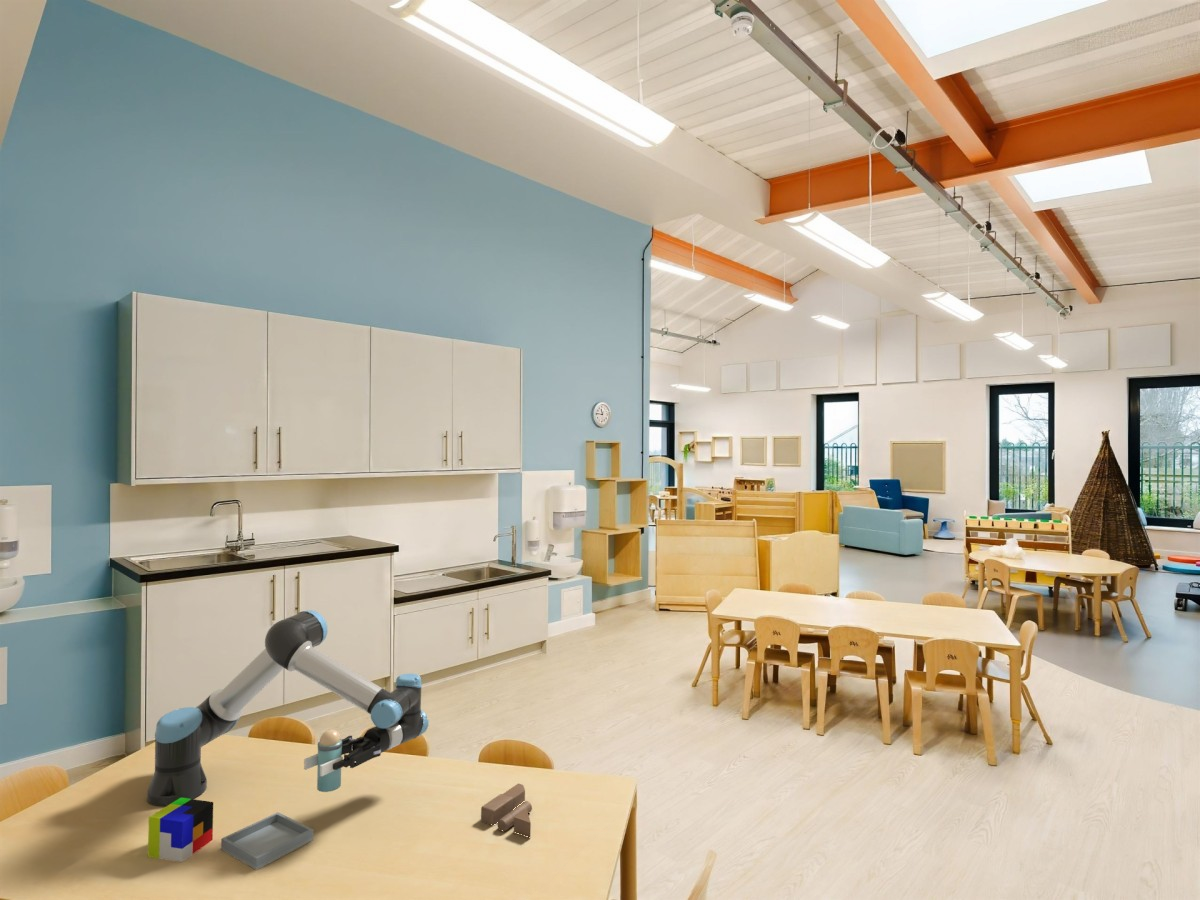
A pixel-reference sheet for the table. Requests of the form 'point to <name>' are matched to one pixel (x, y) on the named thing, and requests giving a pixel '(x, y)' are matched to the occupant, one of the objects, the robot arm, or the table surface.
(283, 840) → the tray
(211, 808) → the puzzle toy
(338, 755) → the ball tube
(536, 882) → the table surface
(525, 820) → the wooden block set
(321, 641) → the robot arm
